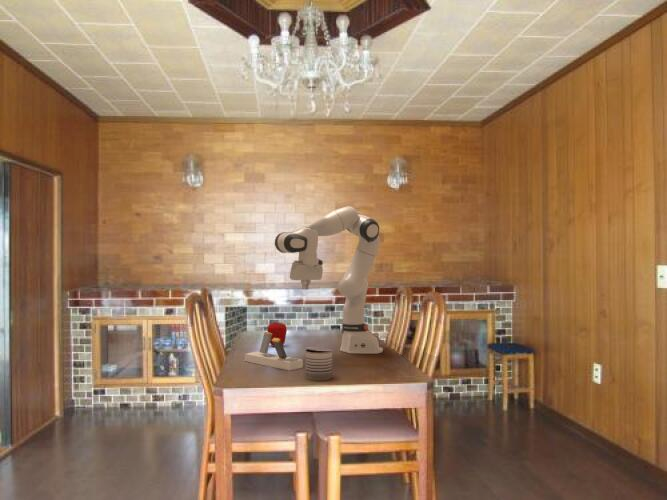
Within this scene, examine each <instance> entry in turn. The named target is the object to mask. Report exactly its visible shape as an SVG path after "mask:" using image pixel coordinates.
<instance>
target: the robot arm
mask: <svg viewBox="0 0 667 500" xmlns="http://www.w3.org/2000/svg"><path fill="white" fill-rule="evenodd" d="M346 230H347V231H348V232H350V233H352V234H353V235H355V236H356V237H358V238H359V239H358V243H357V246H356V249H355V250H354V254H353V256H352V259H351V261H350V264H349V265H348V268H347V269H346V271H345V273H344V275H343V277H342V278H341V280H340V281H339V282H338V285H337V290H338V292H339V294H340V295H341V296H342V297H345V302H344V305H343V308H342V321H343V322H342V324H341V334H342V337H341V343H340V344H341V345H340V348H339V350H340V351H341V352H344V353H346V354H367V355H368V354H371V355H372V354H373V355H374V354H376V355H377V354H380V353H381V354H382V353H383V351H384V348H383V347H381V346H379V345H380V344H379V340H378V338H377V336H375V335H374V334H372V333H371V332H370V331H369V325H368V324H367V323H365V307H366V306H365V305H366V300H367V292H368V289H369V283H368V280H367V279H366V278H367V277H368V275H369V274H370V272H371V271H372V269H373V265H374V263H375V260H376V257H377V255H378V251H379V248H380V241H381V237H380V236H379V234H380V224H379V223H378V222H377V221H376V220H375V219H373V218H372V217H369V216H367V215H364V214H360V213H358V211H357V210H356V208H354V207H353V206H350V205H349V206H348V205H347V206H344V207H341V208H337V209H335V210H333V211H330V212H328V213H326V214H325V215H323V216H321V217H320V218H318V219H317V220H314V222H312V223H310V224H308V225H306V226H302V227H301V228H298V229H296V230H294V231H289V232H286V231H285V232H284V231H283V232H279V233H278V234H277V236H276V237H275V239H274V246H275V249H276V250H277V251H278V252H280V253H282V254H283V253H284V254H285V253H288V254H295V253H296V254H297V253H298V260H294V261H293V262H292V264H291V267H290V272H289V279H290V280H291V281H300V284H301V289H302V290H309V289H310V285H311V283H312V281H321V280H322V279H323V273H324V271H323V270H324V269H323V266H324V261H323V260H322V259H320V258H318V254H317V253H318V252H317V251H318V250H317V249H318V246H319V242H318V241H319V237H328V236H334V235H336V234H340V233H343V231H346Z"/></svg>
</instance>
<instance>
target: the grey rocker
mask: <svg viewBox="0 0 667 500" xmlns="http://www.w3.org/2000/svg"><path fill="white" fill-rule="evenodd" d="M271 336H272V333H270V332H268V331H263V337H262V341H261V344H260V348H259V351H258V352H260V353H265V354H267V353H268V351H269V348H270V345H271V344H270V340H271Z"/></svg>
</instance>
